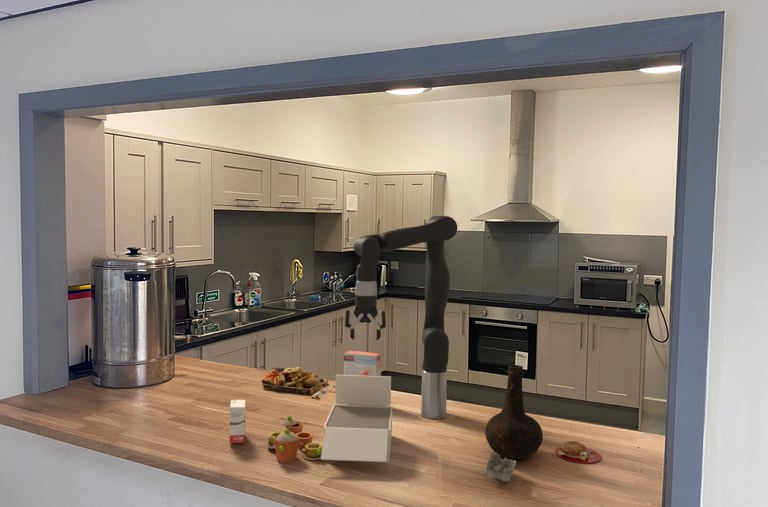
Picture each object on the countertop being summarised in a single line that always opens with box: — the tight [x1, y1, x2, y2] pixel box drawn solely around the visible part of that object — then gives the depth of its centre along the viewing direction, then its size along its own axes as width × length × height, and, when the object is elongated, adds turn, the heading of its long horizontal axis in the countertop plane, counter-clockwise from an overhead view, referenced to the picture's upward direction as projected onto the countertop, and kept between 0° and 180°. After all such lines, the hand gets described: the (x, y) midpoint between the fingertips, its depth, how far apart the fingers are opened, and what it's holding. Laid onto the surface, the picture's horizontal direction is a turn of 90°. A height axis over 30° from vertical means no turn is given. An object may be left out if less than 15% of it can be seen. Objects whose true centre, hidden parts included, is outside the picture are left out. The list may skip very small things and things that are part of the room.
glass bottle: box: [484, 364, 544, 460], centre depth 176 cm, size 18×18×28 cm
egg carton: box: [485, 450, 517, 482], centre depth 160 cm, size 11×8×4 cm
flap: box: [334, 371, 392, 407], centre depth 193 cm, size 19×10×8 cm
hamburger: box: [554, 440, 602, 464], centre depth 178 cm, size 14×14×6 cm
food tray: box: [260, 366, 335, 399], centre depth 244 cm, size 35×26×11 cm
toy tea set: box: [266, 414, 323, 464], centre depth 177 cm, size 26×16×10 cm, turn 27°
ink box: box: [229, 399, 247, 444], centre depth 184 cm, size 8×5×12 cm, turn 13°
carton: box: [320, 403, 393, 464], centre depth 175 cm, size 20×31×10 cm, turn 177°
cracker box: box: [343, 350, 382, 406], centre depth 222 cm, size 14×6×21 cm, turn 68°
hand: (365, 339), depth 196 cm, fingers open, 8 cm apart
